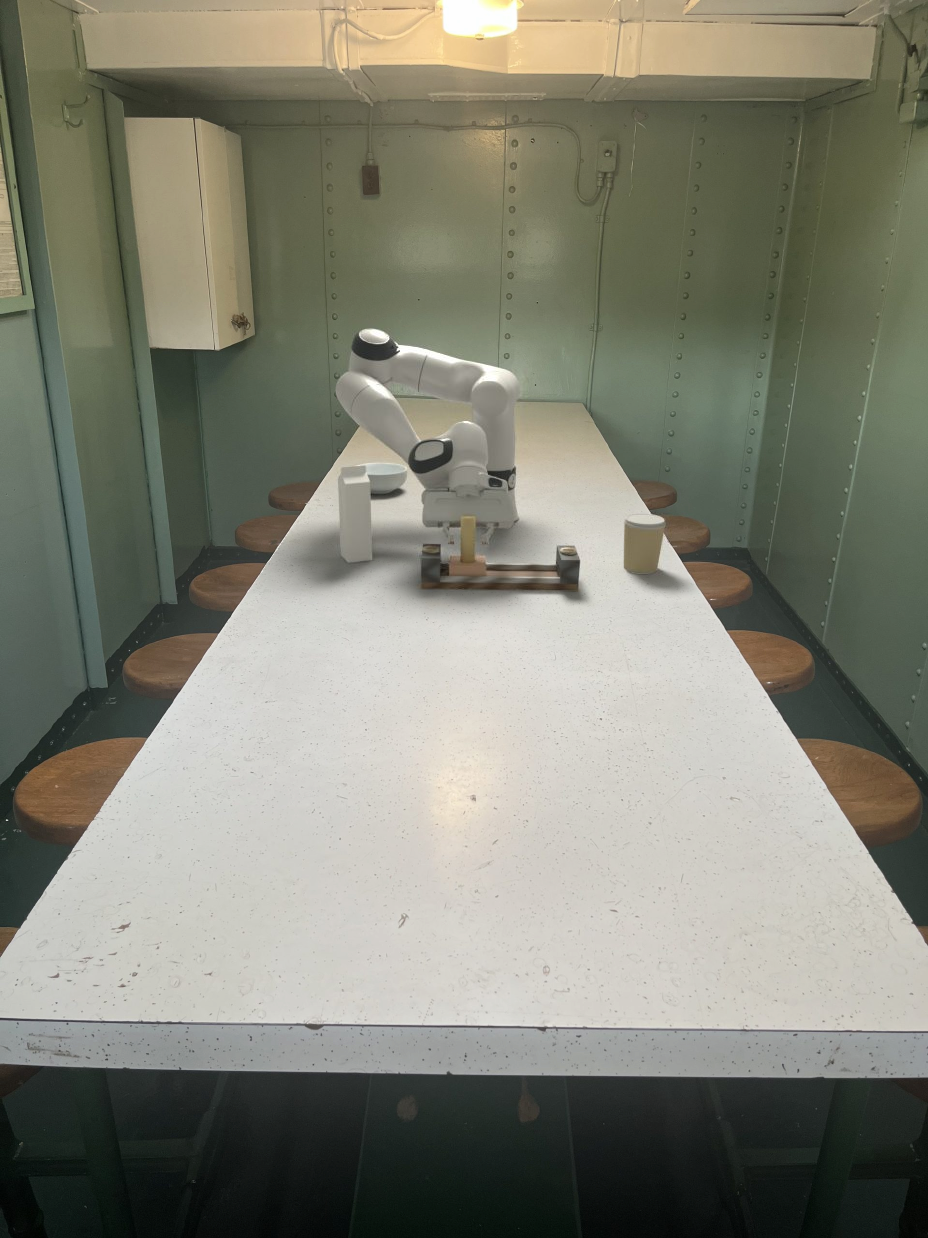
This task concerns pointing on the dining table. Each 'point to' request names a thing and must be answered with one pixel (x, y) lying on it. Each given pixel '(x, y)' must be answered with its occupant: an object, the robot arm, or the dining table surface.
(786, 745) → the dining table surface
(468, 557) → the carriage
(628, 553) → the coffee cup
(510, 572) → the rail track
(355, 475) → the milk
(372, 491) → the cereal bowl
